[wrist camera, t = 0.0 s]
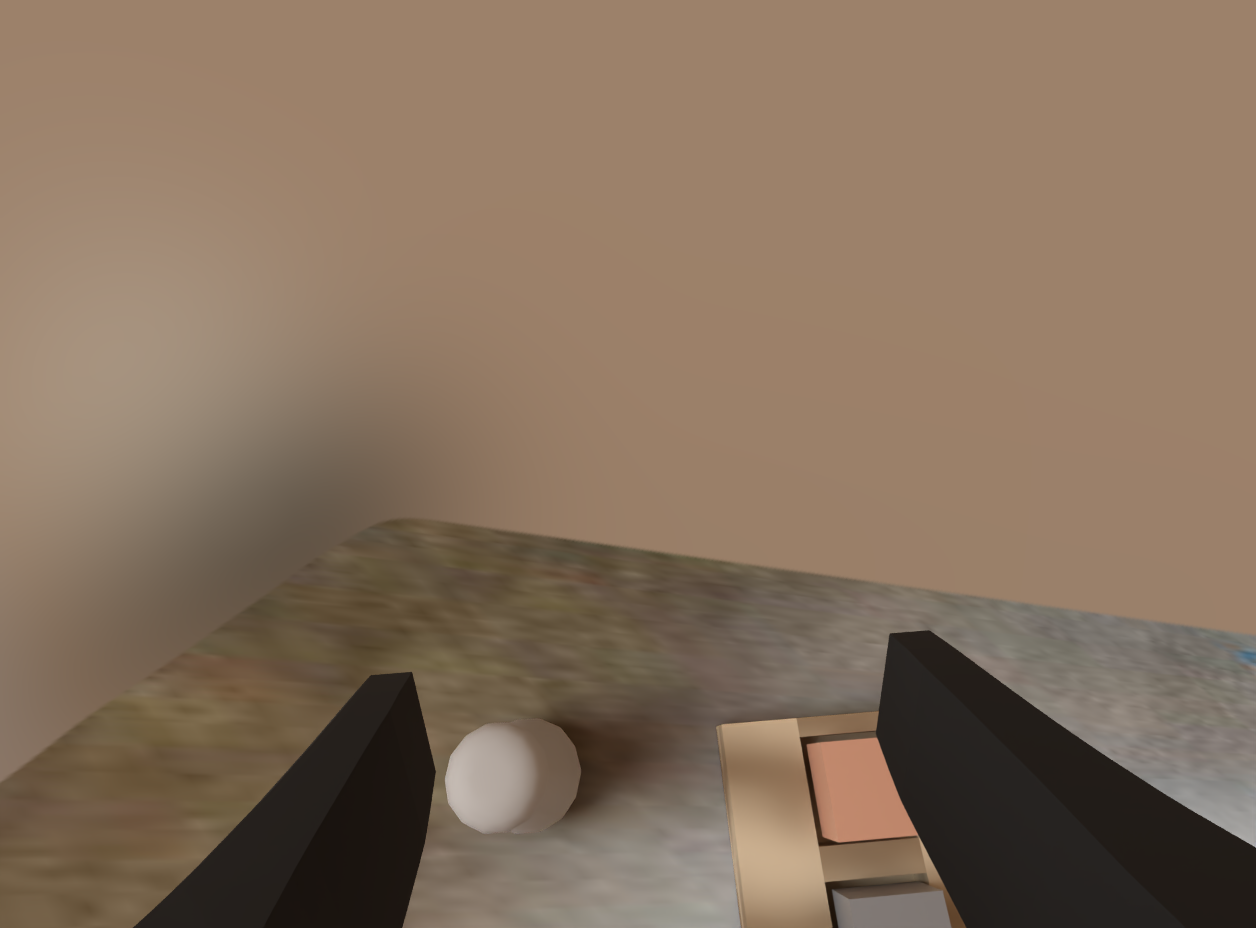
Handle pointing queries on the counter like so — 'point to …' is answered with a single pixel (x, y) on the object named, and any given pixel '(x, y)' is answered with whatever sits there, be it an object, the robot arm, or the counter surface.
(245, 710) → the counter surface
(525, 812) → the salt shaker
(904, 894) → the key slate
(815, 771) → the key terracotta
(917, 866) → the tan wooden slotted tray
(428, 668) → the counter surface
